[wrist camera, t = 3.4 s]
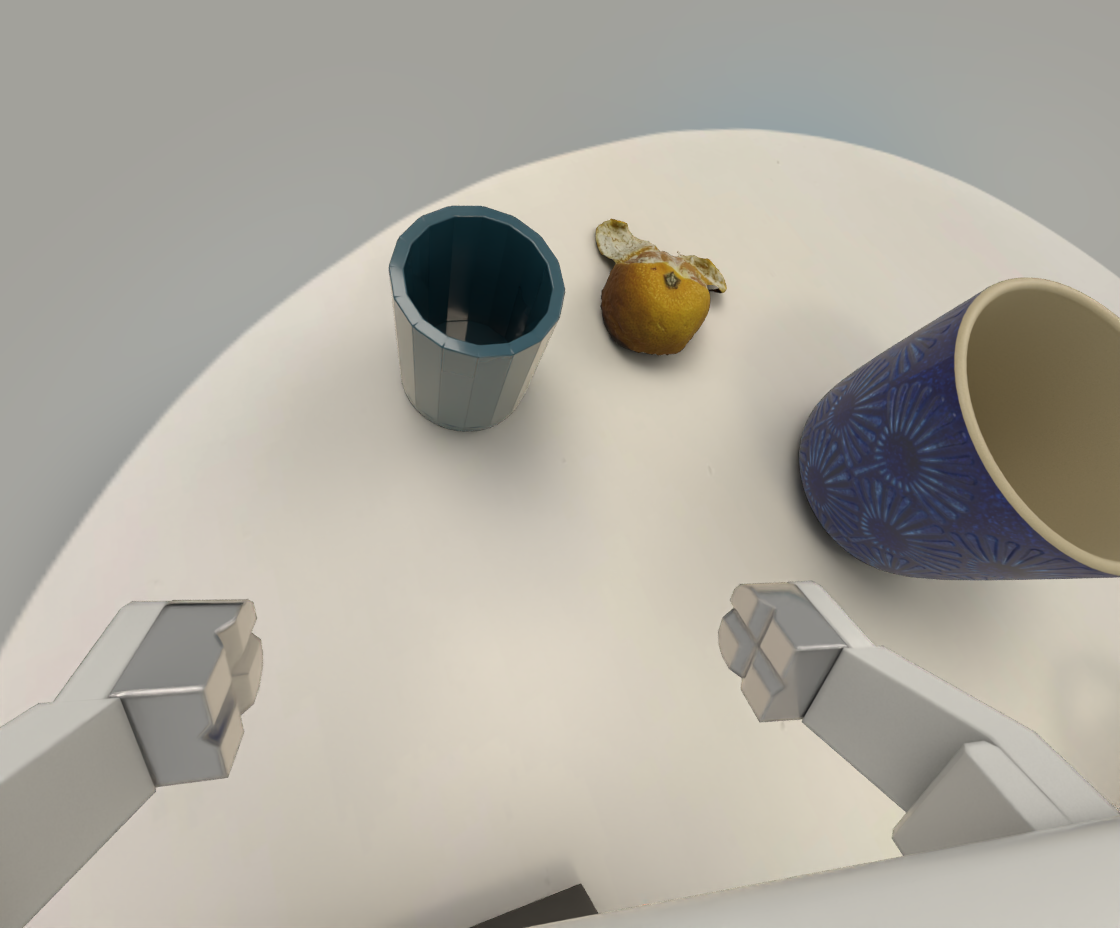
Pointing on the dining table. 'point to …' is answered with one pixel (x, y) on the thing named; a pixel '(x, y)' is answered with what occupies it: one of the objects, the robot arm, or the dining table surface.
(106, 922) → the dining table surface
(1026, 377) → the planter
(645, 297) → the fruit
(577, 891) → the scale
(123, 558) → the dining table surface
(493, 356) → the cup
